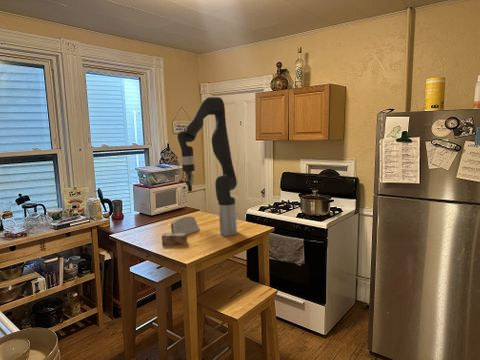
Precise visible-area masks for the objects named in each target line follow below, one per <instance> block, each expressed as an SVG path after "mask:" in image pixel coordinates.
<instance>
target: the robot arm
mask: <svg viewBox="0 0 480 360" xmlns="http://www.w3.org/2000/svg"><path fill="white" fill-rule="evenodd" d="M207 116H214V117H215V125H214V129H213V133H212V135H211V146H212V152H213V154H214V156H215V158H216V159H217V160H218V163H219V164H220V166H221V170H222V175H219V176H217V177H216V179H215V183H214V184H215V194H216V200H217V202H218V218H219V235H221V236H223V237H232V236H236V235H237V233H238V221H237V215H236V214H237V213H236V212H237V211H236V199H235V197H233V196H231V191H233V190H235V189H236V188H237V184H238V180H237V176H236V173H235V169H234V165H233V161H232V154H231V147H230V141H229V136H228V132H227V131H228V130H227V121H226V109H225V102H224V100H223V98H222V97H217V96H214V97H213V96H210V97H205V98H204V99H203V101H201V104H200V106H199V107H198V109H197V111H196V113H195V115H194V117H193V119H192V120H191V121H190V122H189V123H188V125H187V126H186V130H179V131H178V133H177V135H176V136H177V142H178V144H179V147H180V150H181V167H182V169H181V170H182V172H183V173H185V175H184V183H185V185H186V186H187V191H188V193H189V192H192V191H193V186H192V185H193V183H194V174H193V172H195V171H196V170H195V169H196V167H195V157H194V148H193V147H192V146H190V145H188V144H187V143H192V142H194V141H195V140H196V137H197V134H198V133H199V132H200V131H201V130H202V128H203V127H204V120H205V118H206V117H207Z"/></svg>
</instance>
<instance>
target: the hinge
mask: <svg viewBox="0 0 480 360" xmlns="http://www.w3.org/2000/svg"><path fill="white" fill-rule="evenodd" d="M170 229H171V233H186V234H187V235H189V234H192V233H196V232H198V231H200V230H201V228H200V226H199V225H198V223H197V220H196V218H195V217H194V216H183V217H180V218H177V219H175V220H173V222H171V223H170Z"/></svg>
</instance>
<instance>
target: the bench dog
mask: <svg viewBox="0 0 480 360" xmlns="http://www.w3.org/2000/svg"><path fill="white" fill-rule="evenodd" d="M187 235H188V234H186V233H172V232H170V233H168V232H166V233H165V232H164V233H163V234H162V235H161V243H162V246H186V244H187V243H188V237H187Z"/></svg>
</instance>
